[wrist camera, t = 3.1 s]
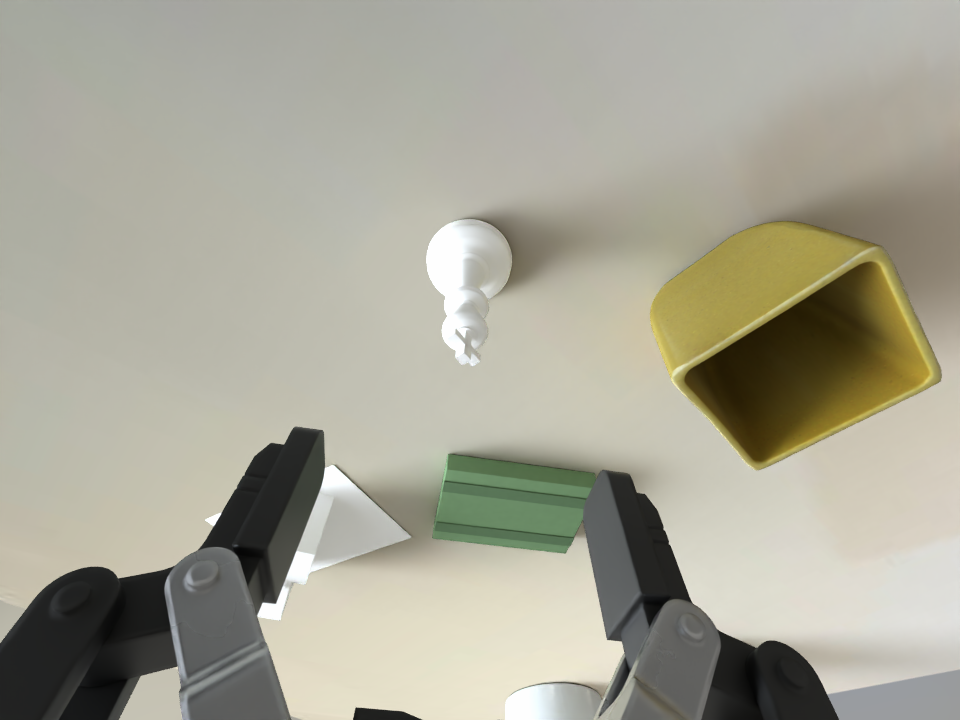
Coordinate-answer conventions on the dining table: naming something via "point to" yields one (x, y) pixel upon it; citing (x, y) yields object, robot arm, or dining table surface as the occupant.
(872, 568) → the dining table surface
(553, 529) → the green flat rectangular block
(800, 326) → the flower pot
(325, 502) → the napkin holder
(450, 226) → the chess piece
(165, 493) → the dining table surface
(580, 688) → the utensil holder
